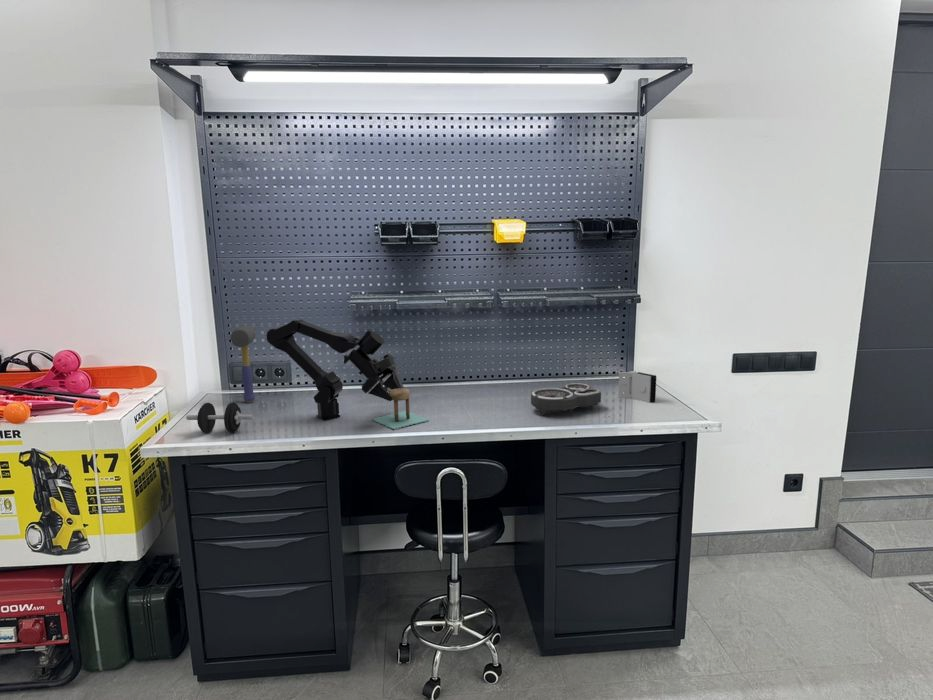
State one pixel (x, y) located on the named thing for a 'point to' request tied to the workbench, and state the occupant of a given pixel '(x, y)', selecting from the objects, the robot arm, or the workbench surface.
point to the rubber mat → (400, 420)
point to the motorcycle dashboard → (565, 398)
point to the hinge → (637, 386)
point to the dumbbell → (219, 417)
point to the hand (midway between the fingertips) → (396, 396)
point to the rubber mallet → (245, 357)
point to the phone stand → (396, 378)
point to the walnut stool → (400, 395)
